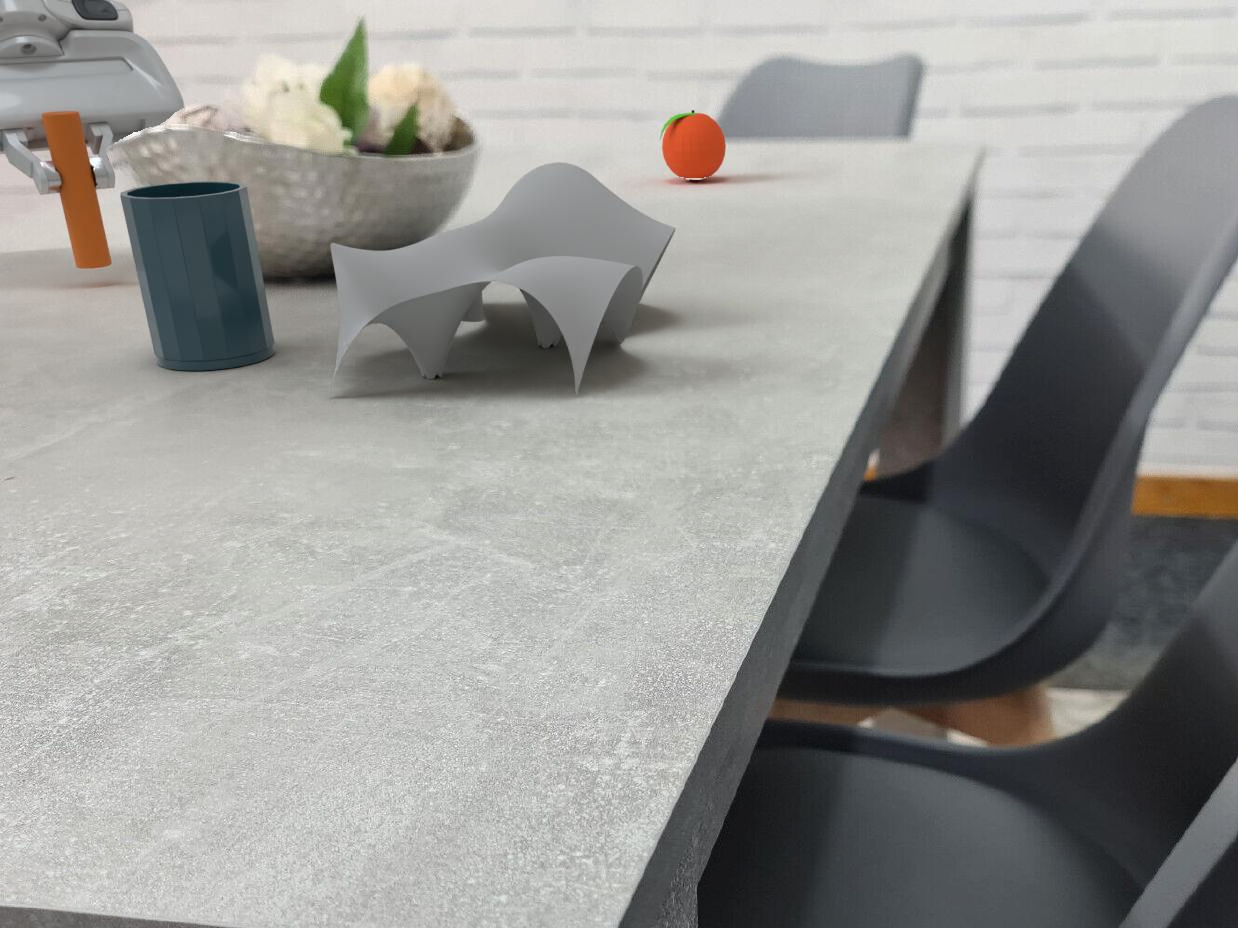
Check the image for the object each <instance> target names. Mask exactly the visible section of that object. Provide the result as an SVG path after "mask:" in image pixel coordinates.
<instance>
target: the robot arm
mask: <svg viewBox="0 0 1238 928" xmlns="http://www.w3.org/2000/svg"><path fill="white" fill-rule="evenodd" d="M182 108H184V109H185V103H184V98H183V96H182V94H181V91H180V89H179V87H178V85H177V83H176V81H175V80H174V78H173V76H172V74H171V72H170V70H169V69H168V67H167V66H166V64H165V62H164V60H163V59H162V58H161V56H160V55H159V53H158V51H157V50H156V49H155V47H154V46H153V45H152V44H151V43H150V42H149V41H148V40H147V39H145V38H144V37H143V36H142V35H141V36H140V34H137V33H135V29H134V18H133V15H132V12H131V10H130V9H129V8H128V6H127V5H126V4H124V3H122V2H120V1H116V0H0V155H5V157H6V159H7V162H8V164H10V165H12V166H13V167H14V168H15V169H17V170H18V171H20V172H21V173H23V174H24V175H26V176H27V177H29V178H30V179H32V180H33V183H34V185H35V187H36V189H37V192H38V193H39V195H40V196H44V195H53V194H60V193H61V188H60V187H61V186H62V183H61V178H60V175H59V173H58V172H57V171H56V166H55V164H54V163H53V161H52V160H42V159H41V158H39V157H38V156H37V155H36V154H35V152H43V151H44V152H46V151H47V152H48V151H50V150H49V145H48V141H47V137H46V132H45V128H44V124H43V119H42V113H46V112H57V111H77V112H79V115H80V119H81V124H82V129H83V133H84V138H85V142H86V147H87V148H89V149H90V150H91V152H92V155H94V156H89V161H90V165H91V170H92V175H93V179H94V184H95V188H96V191H98V190H106V189H107V190H108V189H114V188H115V185H116V174H115V171H114V168H113V165H112V163H111V160H110V161H109V158H108V156H107V154H106V149H107V148H108V146H110V145H112V146H114V145H113V144H114V143H115V142H118V141H119V140H120V139H123V138H124V137H126V136H128V135H130V134H132V133H133V132H138V131H141V130H143V129H145V128H149V127H154V126H157V125H160V124H161V123H163V122H165V121H166V120H167V119H169V118H170V117H171V116H172V115H173V114H174V113H175V112H177V111H179V110H180V109H182Z"/></svg>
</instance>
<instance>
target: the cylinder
mask: <svg viewBox="0 0 1238 928" xmlns="http://www.w3.org/2000/svg"><path fill="white" fill-rule="evenodd" d="M42 119H43V124H44V128H45V132H46V137H47V141H48V145H49V150H48V151H49V154H50V158H51V161H53V163H54V164H55V166H56V171H57V172H58V173H59V175H60V178H61V183H62V186H61V187H60V188H61V193H59V198H60V202H61V206H62V210H63V215H64V219H65V223H66V228H67V232H68V237H69V241H70V245H71V250H72V254H73V258H74V263H75V267H76V268H78V269H83V270H84V269H85V270H86V269H88V270H89V269H101V268H106V267H109V266H112V264H113V262H112V258H111V252H110V248H109V244H108V239H107V233H106V229H105V225H104V221H103V216H102V211H101V207H100V202H99V197H98V192H97V190H96V188H95V184H94V179H93V175H92V170H91V165H90V161H89V157H90V156H89V152H88V147H86V142H85V138H84V133H83V129H82V124H81V119H80V115H79V112H77V111H57V112H46V113H42Z"/></svg>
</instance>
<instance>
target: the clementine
mask: <svg viewBox="0 0 1238 928" xmlns="http://www.w3.org/2000/svg"><path fill="white" fill-rule="evenodd" d="M660 131H661V133H660V135H659V140H661V139H662V142H661V143H662V145H661V150H662V156H663V159H664V161H665V163H666V166H667V167H668V168H669V170H670V171H671V172H672V173H673V174H674V175H675V176H677V177H678V176H679V177H678V178H680V177H684V178H704V177H708V178H710V177H712V176H713V175H714V174H716V172H718V171H719V170H720V168H721V166H722V165H723V163H724V159H725V157H726V150H727V149H726V148H727V146H726V138H725V135H724V132H723V129H722V128H721V126H720V125H719V124H718V122H717V121H716V120H715V119H713V118H712V117H711V116H710V115H708V114H706V113H701V112H695V110H694V109H692V110H691V112H684V113H678V114H675V115H673V116H672V117H670V118H669V119H668V120H667V121H666V122H665V124H664V125H663V126H662V129H661V130H660ZM662 136H663V137H662ZM709 176H710V177H709Z"/></svg>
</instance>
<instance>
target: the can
mask: <svg viewBox="0 0 1238 928" xmlns="http://www.w3.org/2000/svg"><path fill="white" fill-rule="evenodd" d="M119 197H120V202H121V207H122V211H123V216H124V220H125V224H126V229H127V233H128V239H129V243H130V248H131V251H132V257H133V261H134V267H135V269H136V275H137V279H138V284H139V288H140V289H139V290H140V293H141V299H142V302H143V307H144V312H145V316H146V317H145V318H146V320H147V321H146V322H147V325H148V330H149V335H150V340H151V344H152V349H153V353H154V356H155V360H156V363H157V365H158V366H159V367H161V368H164V369H168V370H174V371H186V372H187V371H188V372H199V371H200V372H202V371H203V372H205V371H216V370H226V369H233V368H238V367H239V368H240V367H244V366H249V365H253V364H256V363H260V362H262V361H265V360H267V359H269V358H271V357H272V356H274V354H275V353H276V347H275V339H274V333H273V328H272V321H271V316H270V310H269V305H268V298H267V292H266V288H265V287H266V286H265V281H264V276H263V270H262V266H261V265H262V264H261V260H260V254H259V249H258V247H259V246H258V241H257V238H256V231H255V226H254V219H253V213H252V208H251V203H250V197H249V192H248V186H247V184H245V183H241V182H236V181H222V180H221V181H220V180H206V181H205V180H204V181H202V180H201V181H200V180H199V181H198V180H197V181H182V182H181V181H179V182H168V183H160V184H159V183H158V184H152V185H145V186H138V187H133V188H130V189H127V190H124V191H121V192H120V195H119Z"/></svg>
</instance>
